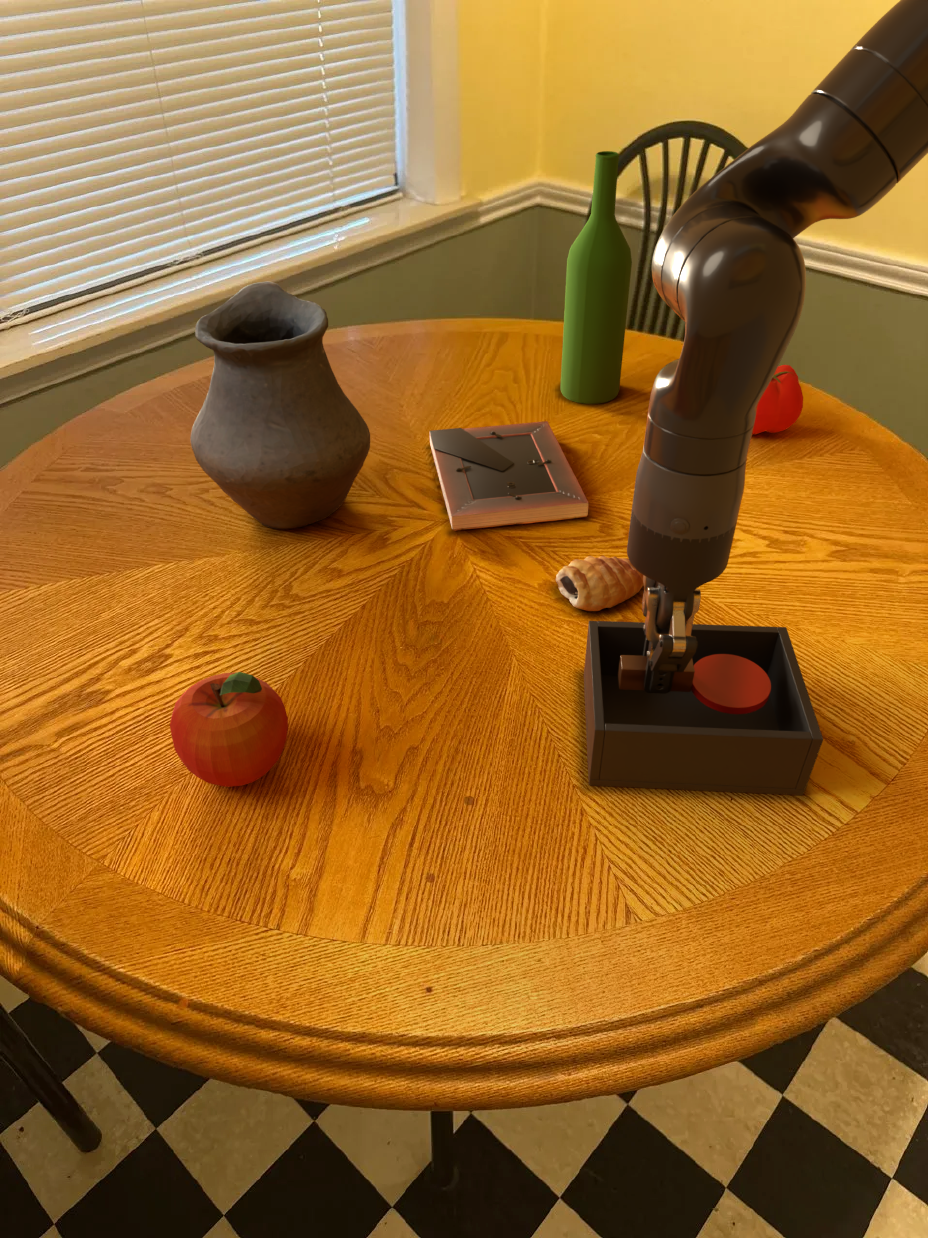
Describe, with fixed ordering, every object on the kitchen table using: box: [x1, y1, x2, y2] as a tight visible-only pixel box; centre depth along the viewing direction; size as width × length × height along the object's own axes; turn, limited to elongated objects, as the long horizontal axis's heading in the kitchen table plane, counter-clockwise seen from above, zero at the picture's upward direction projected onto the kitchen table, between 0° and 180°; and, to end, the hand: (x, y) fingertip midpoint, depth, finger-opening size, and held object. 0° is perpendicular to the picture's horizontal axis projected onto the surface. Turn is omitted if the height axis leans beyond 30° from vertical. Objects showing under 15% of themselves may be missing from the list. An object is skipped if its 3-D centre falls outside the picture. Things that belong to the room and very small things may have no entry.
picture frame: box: [429, 420, 590, 531], centre depth 110 cm, size 16×2×22 cm
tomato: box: [752, 364, 804, 436], centre depth 118 cm, size 11×11×9 cm
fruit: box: [169, 671, 289, 788], centre depth 72 cm, size 10×10×10 cm
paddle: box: [618, 654, 771, 714], centre depth 72 cm, size 13×7×2 cm, turn 86°
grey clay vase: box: [189, 281, 371, 530], centre depth 100 cm, size 21×22×25 cm
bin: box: [583, 620, 824, 796], centre depth 75 cm, size 18×14×7 cm
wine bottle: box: [559, 150, 633, 405], centre depth 121 cm, size 9×9×32 cm
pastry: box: [555, 555, 644, 612], centre depth 92 cm, size 9×7×4 cm
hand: (655, 679), depth 73 cm, fingers closed on paddle, 2 cm apart
